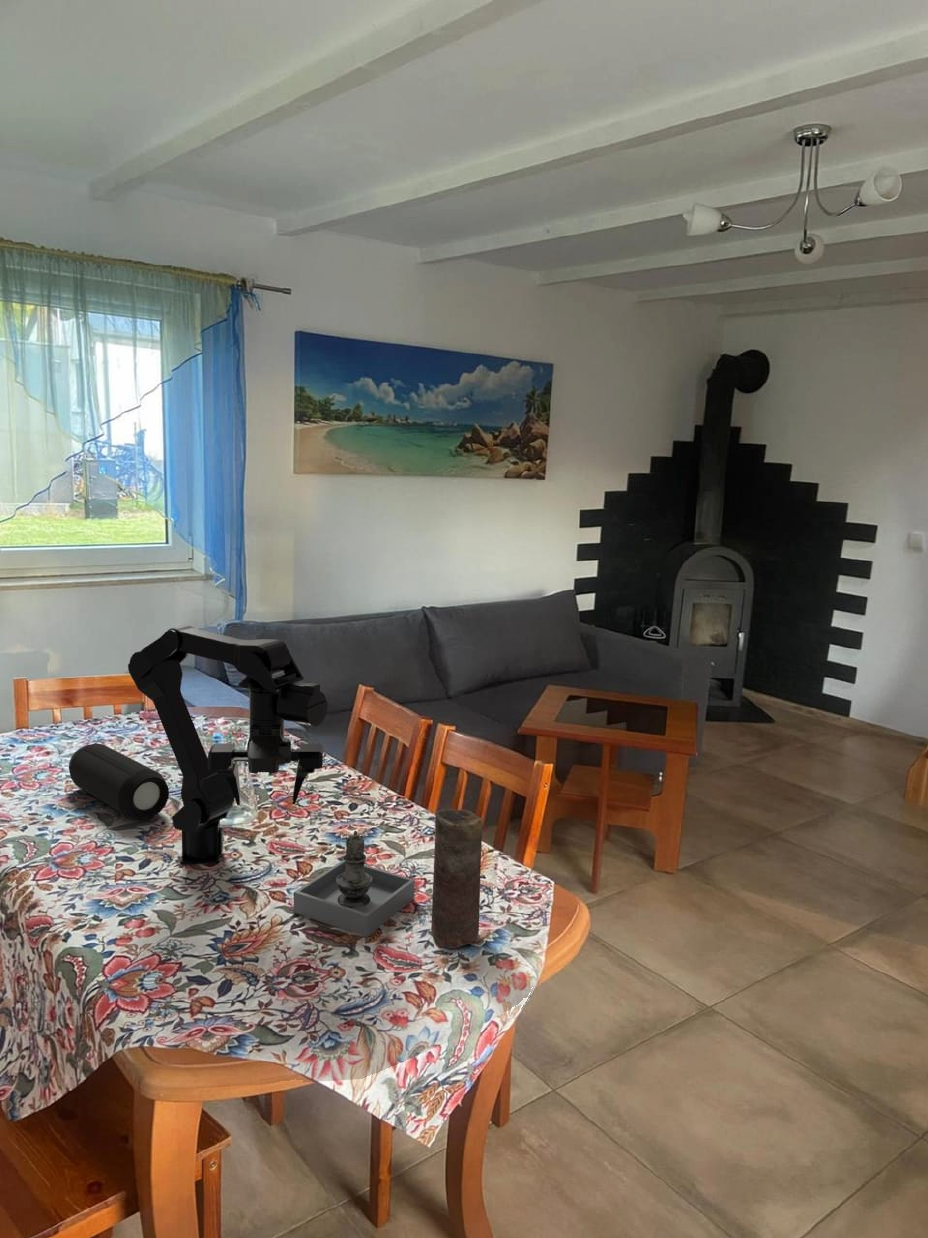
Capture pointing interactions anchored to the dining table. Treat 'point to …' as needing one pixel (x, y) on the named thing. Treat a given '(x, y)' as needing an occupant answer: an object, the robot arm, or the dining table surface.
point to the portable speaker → (119, 781)
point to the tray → (384, 903)
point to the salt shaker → (354, 875)
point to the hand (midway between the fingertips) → (266, 804)
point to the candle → (456, 878)
